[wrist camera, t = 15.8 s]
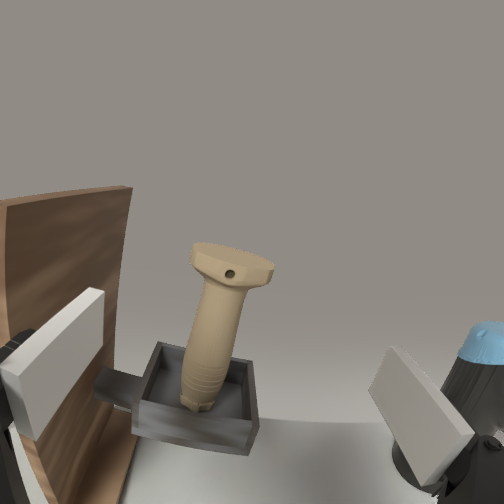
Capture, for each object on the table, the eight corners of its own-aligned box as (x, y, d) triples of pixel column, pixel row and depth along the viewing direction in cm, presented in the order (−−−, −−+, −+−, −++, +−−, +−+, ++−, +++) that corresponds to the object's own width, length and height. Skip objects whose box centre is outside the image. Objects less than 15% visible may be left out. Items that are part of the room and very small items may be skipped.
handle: (168, 380, 29) (197, 238, 26) (229, 395, 30) (271, 258, 27) (158, 410, 24) (187, 252, 21) (228, 427, 25) (278, 275, 22)
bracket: (228, 439, 35) (290, 222, 29) (229, 561, 17) (370, 287, 11) (105, 411, 33) (121, 185, 27) (57, 519, 15) (-11, 202, 10)
